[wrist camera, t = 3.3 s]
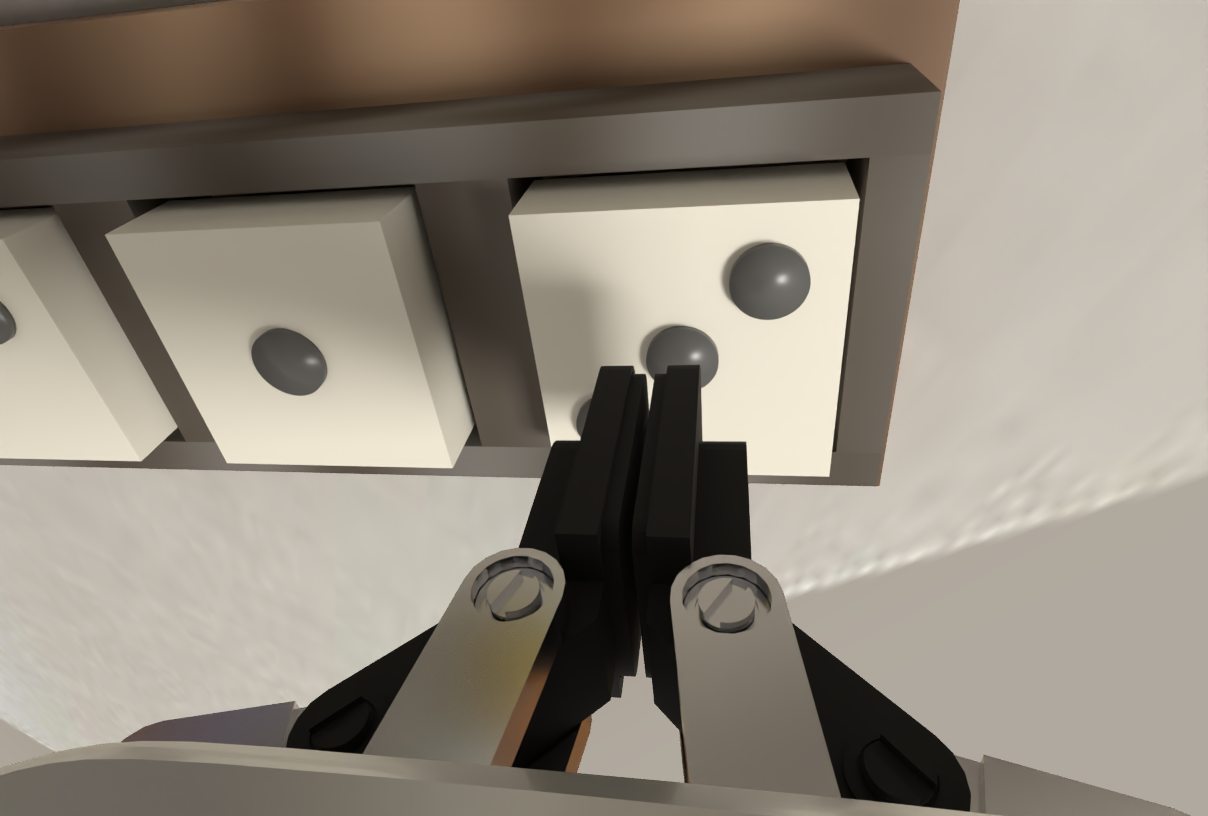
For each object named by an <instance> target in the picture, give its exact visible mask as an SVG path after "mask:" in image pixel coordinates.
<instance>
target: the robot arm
mask: <svg viewBox="0 0 1208 816" xmlns="http://www.w3.org/2000/svg"><path fill="white" fill-rule="evenodd" d="M641 637H642V646H643V655H644V663H645V673H646V677H650V678H652V684H653V694H654V703H655V705H656V706H658V708H659V709H660V710H661V711H662V712H663V713H664V714H665V715H666V716H667V717H668V718H669V719H670V721H671V722H672V723H673V724H674V725H675V726H676V727H677V728H678V729H679V734H680V746H681V756H682V765H683V774H684V783H678V782H668V781H657V780H646V779H635V778H624V777H614V776H602V775H591V774H581V773H577V771H578V768H579V765H580V762H581V759H582V755H583V753H584V750H585V746H586V743H587V740H588V737H589V734H590V729H591V723H592V716H591V714H593V713H594V712H595V711H597V710H598V709H599V708H601V707H602V706H603V705H605V704H606V703H607V702H609V701H610V699H611V697H619V698H621V694H622V687H623V679H624V676H636V673H637V667H638V658H639V649H640V641H641ZM0 816H1190V815H1188V814H1185V813H1183V812H1181V811H1178V810H1176V809H1174V808H1171V807H1167V806H1163V805H1160V804H1157V803H1153V802H1149V801H1145V800H1142V799H1139V798H1135V797H1132V796H1128V795H1125V794H1121V793H1118V792H1114V791H1110V790H1107V789H1103V788H1100V787H1096V786H1093V785H1089V784H1085V783H1082V782H1079V781H1075V780H1071V779H1068V778H1065V777H1061V776H1058V775H1054V774H1050V773H1047V772H1043V771H1040V770H1036V769H1033V768H1029V767H1026V766H1022V765H1019V764H1015V763H1011V762H1008V761H1004V760H1001V759H997V758H994V757H990V756H987V755H983V758H982V761H981V763H980V762H977V761H973V760H970V759H966V758H963V757H959V756H956V755H954V754H953V753H952V752H951V751H950V750H949V749H948V748H947V747H946V746H945V745H944V744H943V743H942V742H941V741H940V740H939V739H938V738H937V737H936V736H935V735H934V734H933V733H931V732H930V731H929V730H927V729H926V728H925V727H924V726H922V725H921V724H920V723H919V722H917V721H916V720H915V719H914V718H912V717H911V716H910V715H908V714H907V713H906V712H905V711H903V710H902V709H901V708H900V707H898V706H897V705H896V704H894V703H893V702H892V701H891V700H889V699H888V698H887V697H886V696H884V695H883V694H882V693H881V692H879V691H878V690H877V689H875V688H874V687H873V686H872V685H870V684H869V683H868V682H867V681H865V680H864V679H863V678H861V677H860V676H859V675H858V674H856V673H855V672H854V671H853V670H851V669H850V668H849V667H847V666H846V665H845V664H844V663H842V662H841V661H840V660H839V659H837V658H836V657H835V656H833V655H832V654H831V653H830V652H828V651H827V650H826V649H825V648H823V647H822V646H821V645H819V644H818V643H817V642H816V641H814V640H813V639H812V638H811V637H809V636H808V635H807V634H806V633H804V632H803V631H802V630H801V629H799V628H798V627H797V626H795V625H794V624H793V623H792V621H791V618H790V614H789V610H788V607H787V603H786V600H785V596H784V593H783V590H782V588H781V586H780V584H779V582H778V580H777V579H776V578H775V577H774V576H773V575H772V574H771V573H770V572H769V571H768V570H767V569H766V568H765V567H763V566H762V565H760V564H758V563H756V562H754V561H753V560H751V540H750V516H749V491H748V467H747V445H746V442H745V441H703V440H702V402H701V368H700V365H668V366H667V373H666V374H655V377H654V383H653V390H652V397H651V403H650V410H649V400H648V388H647V377H646V374H635V370H634V366H601V367H600V370H599V374H598V377H597V381H596V384H595V388H594V392H593V395H592V399H591V403H590V406H589V410H588V414H587V417H586V421H585V424H584V428H583V432H582V435H581V439H580V440H556V441H555V442H554V443H553V445H552V447H551V450H550V453H549V456H548V459H547V462H546V465H545V468H544V471H543V474H542V478H541V481H540V484H539V487H538V490H537V493H536V496H535V499H534V502H533V505H532V508H531V511H530V514H529V517H528V521H527V524H526V527H525V530H524V533H523V536H522V539H521V542H520V545H519V548H514V549H509V550H504V551H500V552H498V553H496V554H493V555H491V556H489V557H487V558H485V559H484V560H482V561H481V562H480V563H478V564H477V565H476V566H474V567H473V569H472V570H471V571H470V572H469V574H468V575H467V576H466V577H465V579H464V580H463V582H462V584H461V585H460V587H459V589H458V591H457V592H456V594H455V596H454V598H453V599H452V601H451V603H450V604H449V606H448V608H447V610H446V611H445V613H444V615H443V616H442V618H441V620H440V622H439V623H438V624H436V625H435V626H433V627H431V628H430V629H428V630H426V631H425V632H423V633H421V634H420V635H418V636H416V637H415V638H413V639H412V640H410V641H408V642H407V643H405V644H403V645H402V646H400V647H398V648H397V649H395V650H393V651H392V652H390V653H388V654H387V655H385V656H383V657H382V658H380V659H378V660H377V661H375V662H373V663H372V664H370V665H369V666H367V667H365V668H364V669H362V670H360V671H359V672H357V673H355V674H354V675H352V676H350V677H349V678H347V679H345V680H344V681H342V682H340V683H339V684H337V685H335V686H334V687H332V688H330V689H329V690H327V691H326V692H324V693H323V694H322V695H320V696H319V697H318V698H316V699H315V700H314V701H313V702H311V703H310V704H309V705H308V707H305V708H299V707H298V705H297V704H296V702H295V701H292V702H285V703H279V704H272V705H266V706H259V707H252V708H246V709H239V710H233V711H226V712H219V713H213V714H206V715H200V716H193V717H186V718H180V719H173V720H166V721H162V722H158V723H155V724H152V725H149V726H146V727H143V728H142V729H140V730H138V731H137V732H135V733H133V734H132V735H130V736H128V737H127V738H125V739H124V740H123V741H122V742H121V743H108V744H100V745H93V746H87V747H81V748H75V749H69V750H64V751H59V752H53V753H50V754H46V755H43V756H39V757H36V758H32V759H29V760H26V761H22V762H19V763H15V764H12V765H9V766H5V767H2V768H0Z"/></svg>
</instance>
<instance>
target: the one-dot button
mask: <svg viewBox="0 0 1208 816" xmlns="http://www.w3.org/2000/svg"><path fill="white" fill-rule="evenodd" d="M105 236H106V238H107V240H108V242H109V244H110V245H111V247H112V249H113V251H114V253H115V255H116V257H117V259H118V260H119V262H120V264H121V266H122V268H123V270H124V272H125V273H126V275H127V277H128V279H129V281H130V283H131V285H132V287H133V288H134V290H135V292H136V294H137V296H138V298H139V300H140V301H141V303H142V305H143V307H144V309H145V311H146V313H147V315H148V316H149V318H150V320H151V322H152V324H153V326H154V328H155V329H156V331H157V333H158V335H159V337H160V339H161V341H162V343H163V344H164V346H165V348H166V350H167V352H168V354H169V356H170V357H171V359H172V361H173V363H174V365H175V367H176V369H177V371H178V372H179V374H180V376H181V378H182V380H183V382H184V384H185V385H186V387H187V389H188V391H189V393H190V395H191V397H192V399H193V400H194V402H195V404H196V406H197V408H198V410H199V412H200V413H201V415H202V417H203V419H204V421H205V423H206V425H207V427H208V428H209V430H210V432H211V434H212V436H213V438H214V440H215V441H216V443H217V445H218V447H219V449H220V451H221V453H222V455H223V456H224V458H225V460H226V462H227V463H238V464H282V465H327V466H372V467H417V468H453V467H454V465H455V463H456V461H457V459H458V457H459V455H460V453H461V451H462V449H463V447H464V445H465V443H466V441H467V439H468V437H469V435H470V433H471V431H472V429H473V427H474V425H475V423H476V420H475V417H474V413H473V409H472V405H471V401H470V397H469V393H468V389H467V386H466V382H465V378H464V374H463V370H462V366H461V362H460V359H459V355H458V351H457V347H456V343H455V339H454V335H453V331H452V328H451V324H450V320H449V316H448V312H447V308H446V304H445V300H444V297H443V293H442V289H441V285H440V281H439V277H438V273H437V269H436V266H435V262H434V258H433V254H432V250H431V246H430V242H429V238H428V235H427V231H426V227H425V223H424V219H423V215H422V211H421V207H420V204H419V200H418V196H417V192H416V188H415V187H401V188H384V189H366V190H349V191H331V192H313V193H296V194H278V195H260V196H243V197H225V198H208V199H190V200H172V201H168V202H166V203H164V204H162V205H160V206H158V207H156V208H154V209H152V210H151V211H149V212H147V213H145V214H143V215H141V216H139V217H137V218H135V219H133V220H132V221H130V222H128V223H126V224H124V225H122V226H120V227H118V228H116V229H114V230H112V231H111V232H109V233H107V234H105Z"/></svg>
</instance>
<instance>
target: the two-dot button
mask: <svg viewBox="0 0 1208 816" xmlns="http://www.w3.org/2000/svg"><path fill="white" fill-rule="evenodd" d="M176 428H177V425H176V423H175V421H174V419H173V418H172V416H171V414H170V412H169V411H168V409H167V407H166V405H165V404H164V402H163V400H162V398H161V397H160V395H159V393H158V391H157V389H156V388H155V386H154V384H153V382H152V381H151V379H150V377H149V375H148V374H147V372H146V370H145V368H144V367H143V365H142V363H141V361H140V359H139V358H138V356H137V354H136V352H135V351H134V349H133V347H132V345H131V344H130V342H129V340H128V338H127V336H126V335H125V333H124V331H123V329H122V328H121V326H120V324H119V322H118V321H117V319H116V317H115V315H114V314H113V312H112V310H111V308H110V306H109V305H108V303H107V301H106V299H105V298H104V296H103V294H102V292H101V291H100V289H99V287H98V285H97V284H96V282H95V280H94V278H93V276H92V275H91V273H90V271H89V269H88V268H87V266H86V264H85V262H84V261H83V259H82V257H81V255H80V254H79V252H78V250H77V248H76V246H75V245H74V243H73V241H72V239H71V238H70V236H69V234H68V232H67V231H66V229H65V227H64V225H63V224H62V222H61V220H60V218H59V216H58V215H57V213H56V211H55V209H54V208H53V207H49V208H31V209H14V210H0V458H13V459H58V460H103V461H142V460H143V459H144V458H145V457H147V456H148V455H149V454H150V453H151V452H152V451H153V450H154V449H155V448H156V447H157V446H158V445H159V444H160V443H161V442H162V441H164V440H165V439H166V438H167V437H168V436H169V435H170V434H171V433H172V432H173V431H174V430H175V429H176Z"/></svg>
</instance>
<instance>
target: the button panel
mask: <svg viewBox="0 0 1208 816" xmlns="http://www.w3.org/2000/svg"><path fill="white" fill-rule="evenodd" d="M959 2H960V0H225V1H217V2H208V3H199V4H191V5H182V6H173V7H165V8H156V9H147V10H139V11H130V12H121V13H113V14H104V15H95V16H87V17H78V18H69V19H61V20H52V21H43V22H35V23H26V24H17V25H9V26H0V210H14V209H31V208H49V207H53V208H54V209H55V211H56V213H57V215H58V216H59V218H60V220H61V222H62V224H63V225H64V227H65V229H66V231H67V232H68V234H69V236H70V238H71V239H72V241H73V243H74V245H75V246H76V248H77V250H78V252H79V254H80V255H81V257H82V259H83V261H84V262H85V264H86V266H87V268H88V269H89V271H90V273H91V275H92V276H93V278H94V280H95V282H96V284H97V285H98V287H99V289H100V291H101V292H102V294H103V296H104V298H105V299H106V301H107V303H108V305H109V306H110V308H111V310H112V312H113V314H114V315H115V317H116V319H117V321H118V322H119V324H120V326H121V328H122V329H123V331H124V333H125V335H126V336H127V338H128V340H129V342H130V344H131V345H132V347H133V349H134V351H135V352H136V354H137V356H138V358H139V359H140V361H141V363H142V365H143V367H144V368H145V370H146V372H147V374H148V375H149V377H150V379H151V381H152V382H153V384H154V386H155V388H156V389H157V391H158V393H159V395H160V397H161V398H162V400H163V402H164V404H165V405H166V407H167V409H168V411H169V412H170V414H171V416H172V418H173V419H174V421H175V423H176V425H177V428H176V429H175V430H174V431H173V432H172V433H171V434H170V435H169V436H168V437H167V438H166V439H165V440H164V441H162V442H161V443H160V444H159V445H158V446H157V447H156V448H155V449H154V450H153V451H152V452H151V453H150V454H149V455H148V456H147V457H145V458H144V459H143V460H142V461H103V460H58V459H13V458H0V465H27V466H68V467H109V468H150V469H191V470H232V471H273V472H314V473H355V474H396V475H437V476H478V477H519V478H542V474H543V471H544V468H545V465H546V462H547V459H548V456H549V453H550V450H551V442H550V437H549V431H548V426H547V421H546V415H545V410H544V404H543V399H542V394H541V388H540V383H539V377H538V372H537V367H536V361H535V356H534V351H533V345H532V340H531V334H530V329H529V324H528V318H527V313H526V307H525V302H524V297H523V291H522V286H521V281H520V275H519V270H518V264H517V259H516V254H515V248H514V243H513V237H512V232H511V227H510V221H509V216H508V215H509V214H510V213H511V211H512V210H513V208H514V207H515V206H516V204H517V203H518V202H519V200H520V199H521V198H522V196H523V195H524V193H525V192H526V191H527V189H528V188H529V187H530V185H531V184H532V182H533V181H534V180H542V179H560V178H578V177H595V176H613V175H631V174H648V173H666V172H683V171H701V170H719V169H736V168H754V167H772V166H789V165H807V164H824V163H842V162H845V165H846V167H847V170H848V172H849V174H850V177H851V179H852V181H853V184H854V186H855V189H856V191H857V193H858V196H859V198H860V201H859V210H858V220H857V229H856V238H855V247H854V256H853V265H852V274H851V283H850V292H849V301H848V311H847V320H846V329H845V338H844V347H843V356H842V365H841V374H840V383H839V393H838V402H837V411H836V420H835V429H834V438H833V447H832V456H831V465H830V474H829V477H821V476H777V475H748V483H765V484H806V485H847V486H879V485H880V479H881V473H882V467H883V461H884V454H885V448H886V442H887V436H888V430H889V424H890V418H891V412H892V406H893V400H894V394H895V388H896V382H897V376H898V370H899V364H900V358H901V352H902V346H903V340H904V334H905V328H906V322H907V316H908V310H909V304H910V298H911V292H912V286H913V280H914V274H915V267H916V261H917V255H918V249H919V243H920V237H921V231H922V225H923V219H924V213H925V207H926V201H927V195H928V189H929V183H930V177H931V171H932V165H933V159H934V153H935V147H936V141H937V135H938V129H939V123H940V117H941V111H942V105H943V99H944V93H945V87H946V80H947V74H948V68H949V62H950V56H951V50H952V44H953V38H954V32H955V26H956V20H957V14H958V8H959ZM401 187H415V188H416V192H417V196H418V200H419V204H420V207H421V211H422V215H423V219H424V223H425V227H426V231H427V235H428V238H429V242H430V246H431V250H432V254H433V258H434V262H435V266H436V269H437V273H438V277H439V281H440V285H441V289H442V293H443V297H444V300H445V304H446V308H447V312H448V316H449V320H450V324H451V328H452V331H453V335H454V339H455V343H456V347H457V351H458V355H459V359H460V362H461V366H462V370H463V374H464V378H465V382H466V386H467V389H468V393H469V397H470V401H471V405H472V409H473V413H474V417H475V420H476V423H475V425H474V427H473V429H472V431H471V433H470V435H469V437H468V439H467V441H466V443H465V445H464V447H463V449H462V451H461V453H460V455H459V457H458V459H457V461H456V463H455V465H454V467H453V468H417V467H372V466H327V465H282V464H238V463H227V462H226V460H225V458H224V456H223V455H222V453H221V451H220V449H219V447H218V445H217V443H216V441H215V440H214V438H213V436H212V434H211V432H210V430H209V428H208V427H207V425H206V423H205V421H204V419H203V417H202V415H201V413H200V412H199V410H198V408H197V406H196V404H195V402H194V400H193V399H192V397H191V395H190V393H189V391H188V389H187V387H186V385H185V384H184V382H183V380H182V378H181V376H180V374H179V372H178V371H177V369H176V367H175V365H174V363H173V361H172V359H171V357H170V356H169V354H168V352H167V350H166V348H165V346H164V344H163V343H162V341H161V339H160V337H159V335H158V333H157V331H156V329H155V328H154V326H153V324H152V322H151V320H150V318H149V316H148V315H147V313H146V311H145V309H144V307H143V305H142V303H141V301H140V300H139V298H138V296H137V294H136V292H135V290H134V288H133V287H132V285H131V283H130V281H129V279H128V277H127V275H126V273H125V272H124V270H123V268H122V266H121V264H120V262H119V260H118V259H117V257H116V255H115V253H114V251H113V249H112V247H111V245H110V244H109V242H108V240H107V238H106V236H105V234H107V233H109V232H111V231H112V230H114V229H116V228H118V227H120V226H122V225H124V224H126V223H128V222H130V221H132V220H133V219H135V218H137V217H139V216H141V215H143V214H145V213H147V212H149V211H151V210H152V209H154V208H156V207H158V206H160V205H162V204H164V203H166V202H168V201H172V200H190V199H208V198H225V197H243V196H260V195H278V194H296V193H313V192H331V191H349V190H366V189H384V188H401Z"/></svg>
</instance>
